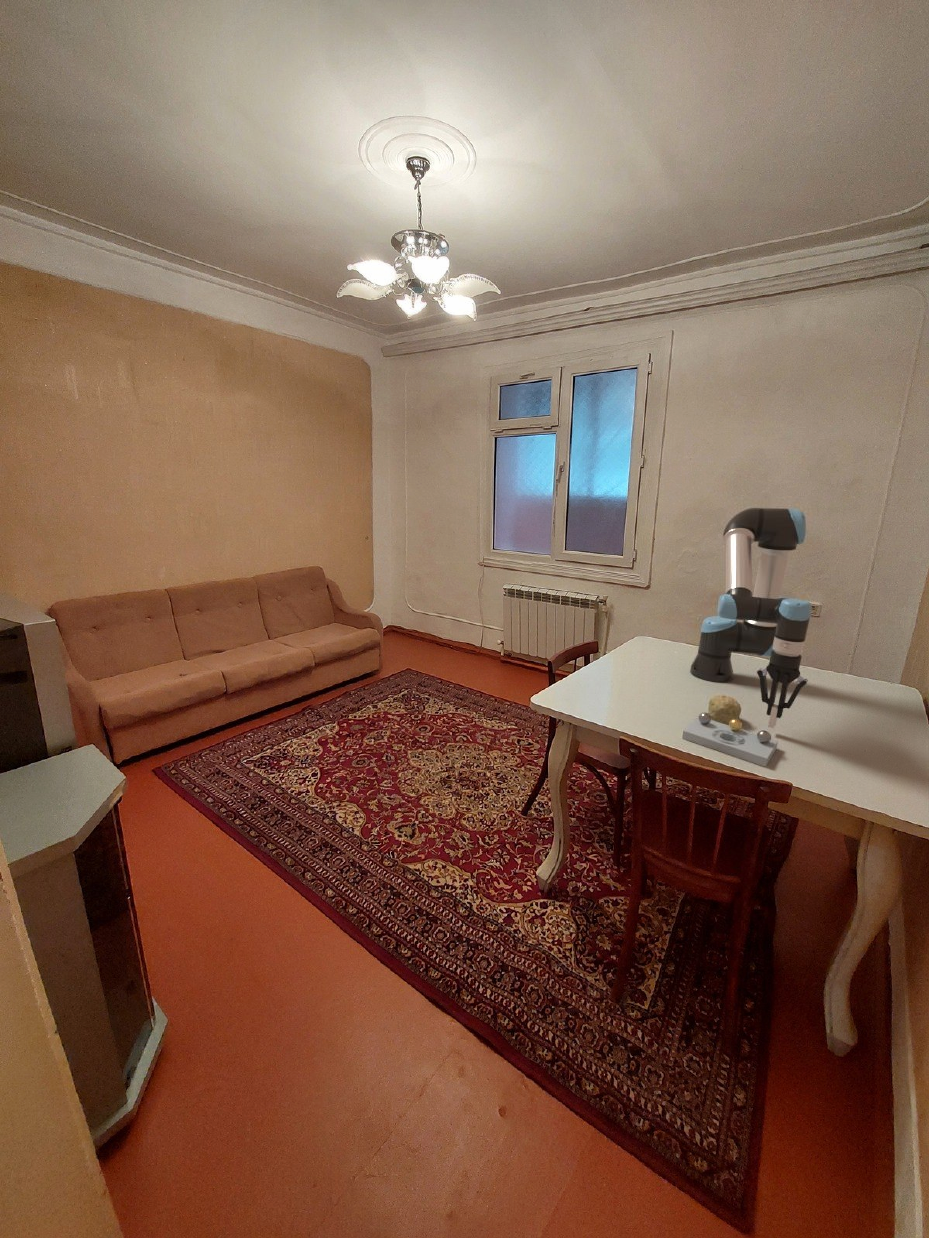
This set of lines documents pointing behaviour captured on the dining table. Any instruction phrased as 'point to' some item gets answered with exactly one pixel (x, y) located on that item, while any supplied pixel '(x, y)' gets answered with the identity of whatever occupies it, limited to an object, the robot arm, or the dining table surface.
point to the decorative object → (723, 709)
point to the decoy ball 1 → (704, 718)
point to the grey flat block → (730, 741)
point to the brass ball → (735, 724)
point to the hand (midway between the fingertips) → (771, 725)
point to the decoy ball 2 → (764, 736)
